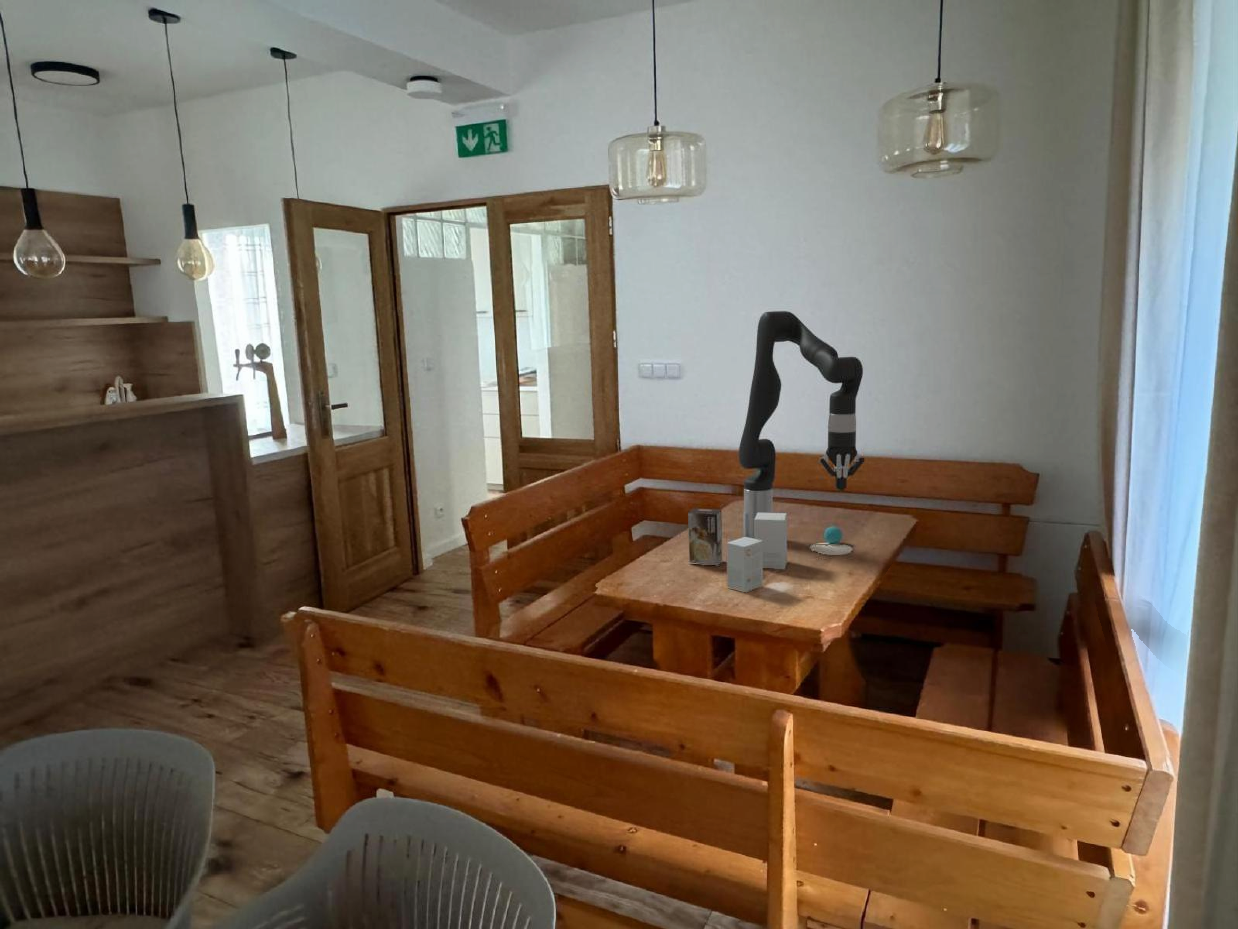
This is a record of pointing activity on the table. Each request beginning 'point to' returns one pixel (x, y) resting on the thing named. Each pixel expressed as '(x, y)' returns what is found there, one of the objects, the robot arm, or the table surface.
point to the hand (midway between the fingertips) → (840, 490)
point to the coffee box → (705, 536)
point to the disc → (832, 549)
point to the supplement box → (772, 538)
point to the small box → (745, 564)
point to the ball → (833, 535)
